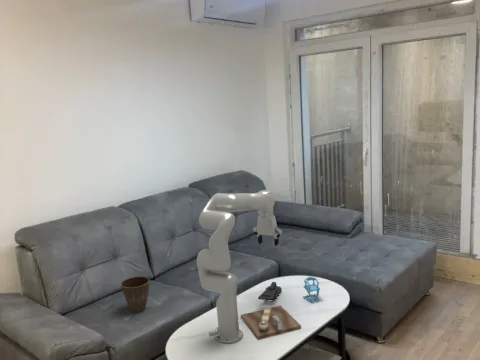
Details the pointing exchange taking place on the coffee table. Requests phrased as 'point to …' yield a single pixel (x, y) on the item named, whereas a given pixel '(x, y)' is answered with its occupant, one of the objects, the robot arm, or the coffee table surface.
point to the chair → (311, 289)
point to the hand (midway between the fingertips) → (268, 244)
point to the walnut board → (270, 322)
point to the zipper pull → (271, 292)
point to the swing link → (265, 317)
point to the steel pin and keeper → (278, 322)
